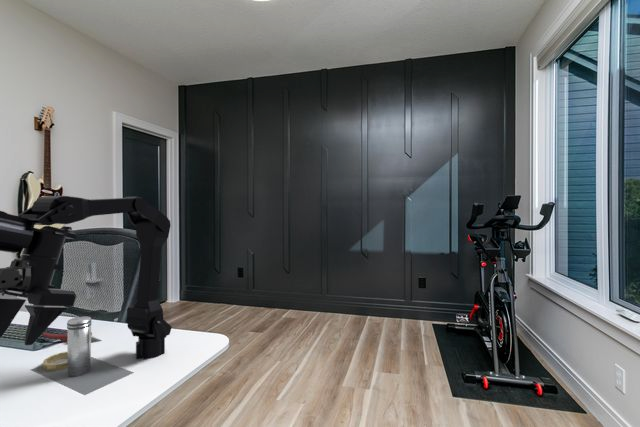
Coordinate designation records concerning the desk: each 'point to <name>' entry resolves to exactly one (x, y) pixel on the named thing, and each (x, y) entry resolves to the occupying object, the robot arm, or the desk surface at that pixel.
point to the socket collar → (55, 367)
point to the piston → (79, 346)
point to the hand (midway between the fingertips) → (12, 340)
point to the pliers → (65, 337)
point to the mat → (86, 376)
